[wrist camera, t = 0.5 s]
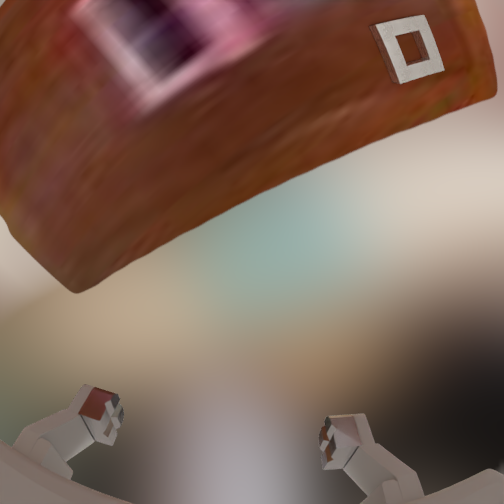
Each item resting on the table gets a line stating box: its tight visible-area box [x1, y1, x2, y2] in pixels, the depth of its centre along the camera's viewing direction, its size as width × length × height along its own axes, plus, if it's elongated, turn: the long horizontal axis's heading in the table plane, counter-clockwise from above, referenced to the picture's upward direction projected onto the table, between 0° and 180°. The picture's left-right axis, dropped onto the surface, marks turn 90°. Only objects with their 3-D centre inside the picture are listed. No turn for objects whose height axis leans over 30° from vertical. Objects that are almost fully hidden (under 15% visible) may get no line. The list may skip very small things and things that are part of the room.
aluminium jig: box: [369, 15, 444, 84], centre depth 36 cm, size 12×12×3 cm
